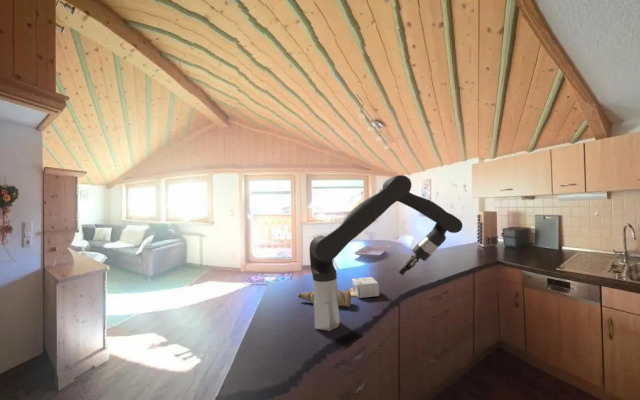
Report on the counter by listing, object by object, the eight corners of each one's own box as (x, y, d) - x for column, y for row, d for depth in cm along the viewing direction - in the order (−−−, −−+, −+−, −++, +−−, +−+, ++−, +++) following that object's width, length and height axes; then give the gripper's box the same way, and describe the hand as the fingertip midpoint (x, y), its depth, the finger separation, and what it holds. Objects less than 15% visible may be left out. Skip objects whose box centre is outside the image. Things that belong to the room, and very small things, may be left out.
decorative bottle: (352, 303, 109) (351, 288, 109) (348, 310, 102) (347, 294, 102) (302, 298, 119) (301, 285, 119) (295, 304, 112) (294, 290, 112)
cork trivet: (364, 297, 115) (364, 296, 115) (344, 295, 119) (344, 294, 119) (369, 290, 125) (369, 289, 126) (351, 288, 130) (351, 287, 130)
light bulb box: (372, 289, 125) (352, 291, 124) (371, 276, 125) (351, 278, 124) (379, 296, 114) (357, 298, 113) (378, 282, 114) (356, 284, 113)
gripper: (419, 241, 119) (396, 264, 124) (418, 245, 107) (392, 271, 112) (431, 251, 117) (407, 275, 121) (432, 257, 105) (405, 283, 109)
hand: (400, 273), depth 117 cm, fingers closed
